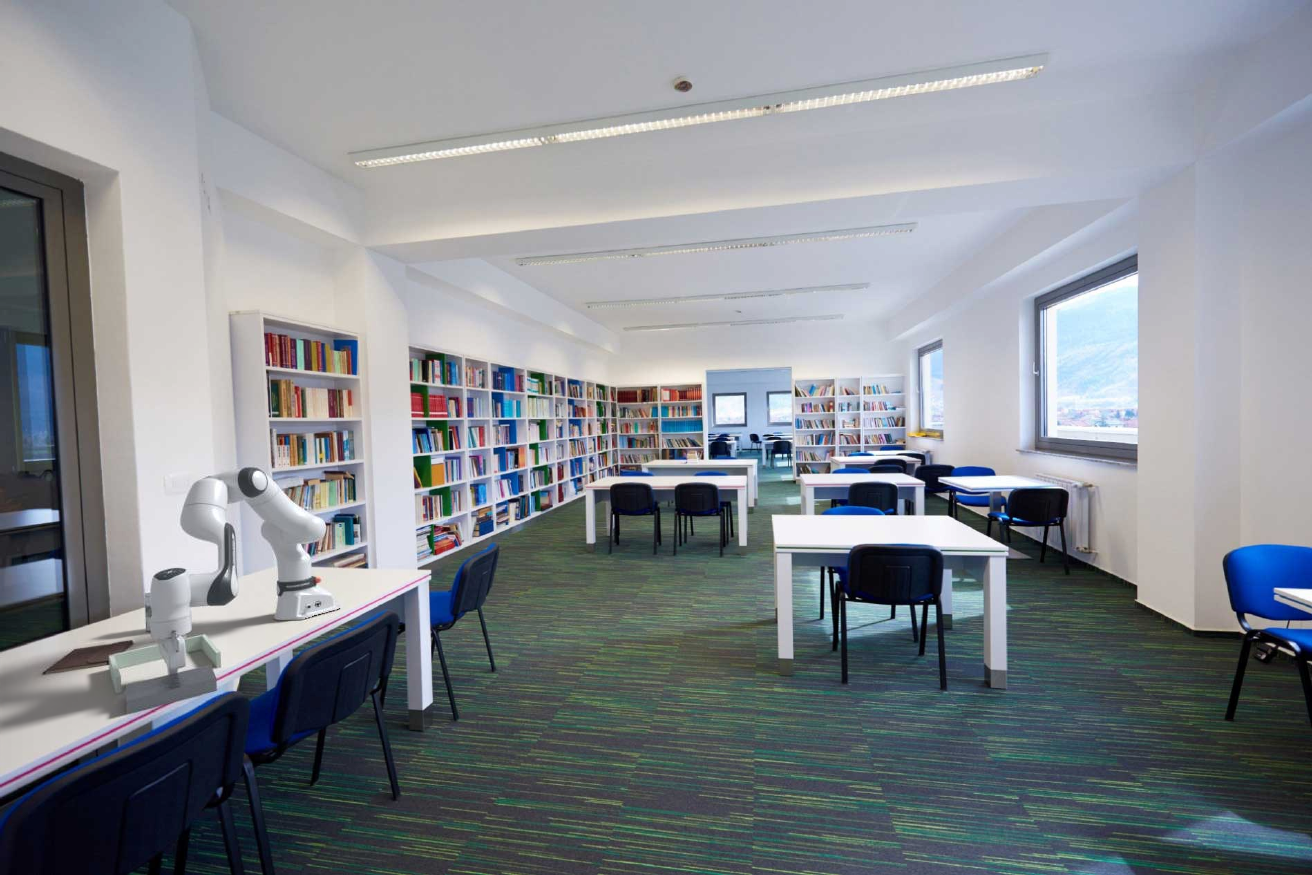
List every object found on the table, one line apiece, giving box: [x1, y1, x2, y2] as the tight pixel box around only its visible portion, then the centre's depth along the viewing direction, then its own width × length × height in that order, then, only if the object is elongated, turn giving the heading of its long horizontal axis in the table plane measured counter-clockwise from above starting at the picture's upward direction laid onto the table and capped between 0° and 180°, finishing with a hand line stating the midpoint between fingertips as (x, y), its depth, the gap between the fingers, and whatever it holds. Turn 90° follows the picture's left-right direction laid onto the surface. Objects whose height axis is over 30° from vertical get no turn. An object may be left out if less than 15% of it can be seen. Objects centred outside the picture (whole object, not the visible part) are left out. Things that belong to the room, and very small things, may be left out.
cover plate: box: [125, 664, 218, 715], centre depth 153 cm, size 18×13×4 cm
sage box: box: [108, 633, 222, 695], centre depth 171 cm, size 23×24×4 cm
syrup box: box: [144, 590, 152, 632], centre depth 207 cm, size 6×6×14 cm
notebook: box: [42, 639, 134, 676], centre depth 180 cm, size 15×20×2 cm
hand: (172, 676), depth 160 cm, fingers closed
